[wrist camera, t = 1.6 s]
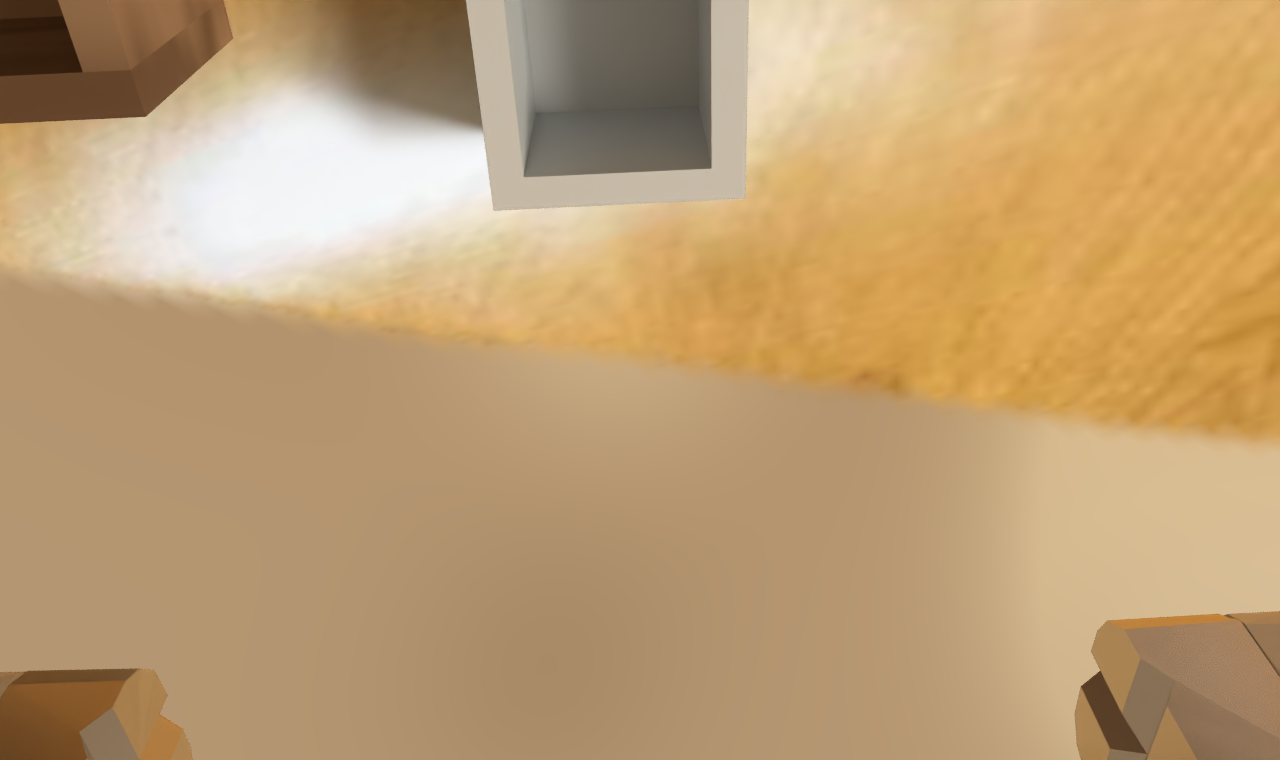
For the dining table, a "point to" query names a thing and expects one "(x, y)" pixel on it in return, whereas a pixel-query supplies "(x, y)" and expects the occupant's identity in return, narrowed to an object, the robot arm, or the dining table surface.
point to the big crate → (101, 55)
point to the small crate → (611, 100)
